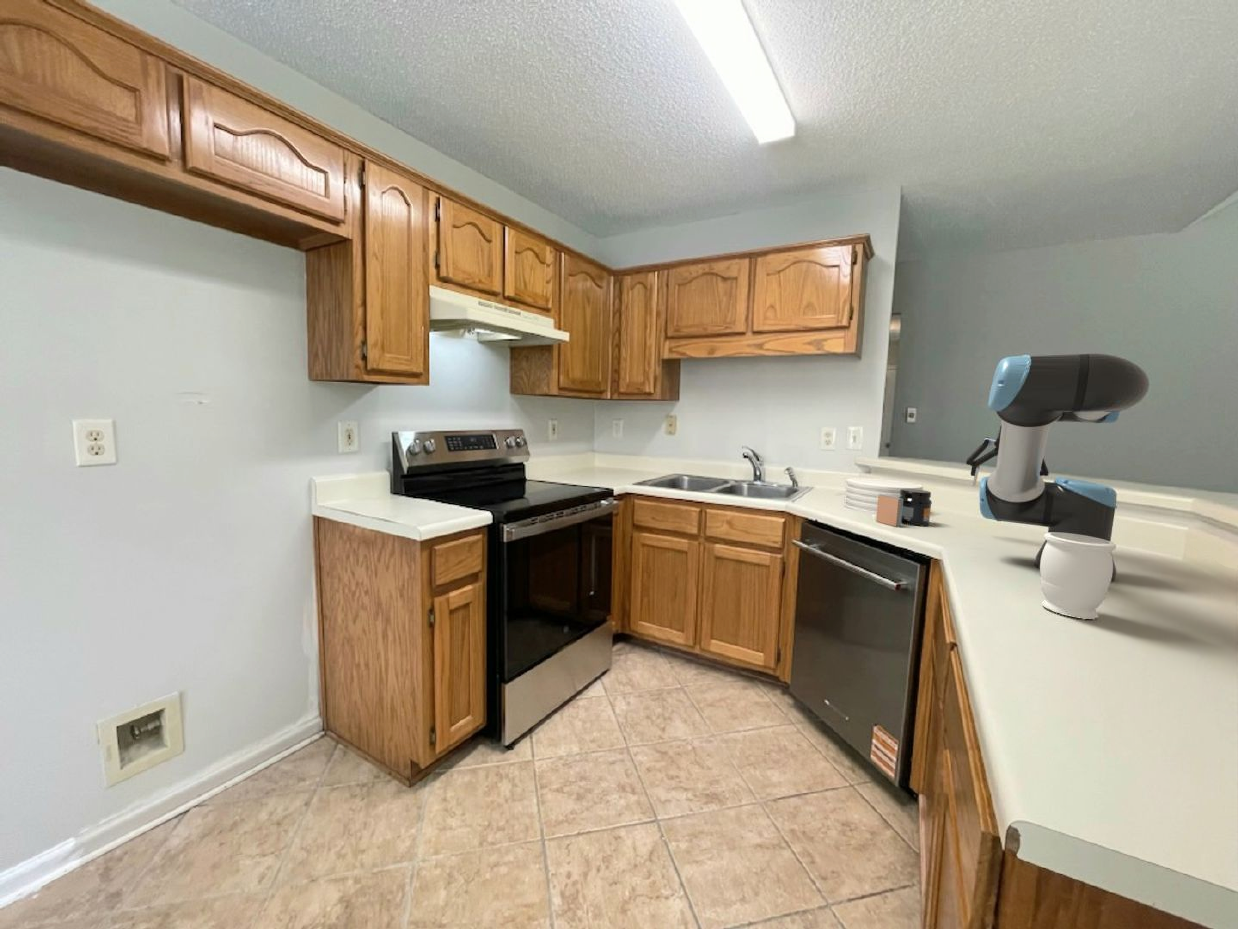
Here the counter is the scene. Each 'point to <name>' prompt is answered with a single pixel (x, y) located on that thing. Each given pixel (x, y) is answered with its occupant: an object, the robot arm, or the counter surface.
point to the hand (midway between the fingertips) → (1000, 489)
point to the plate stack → (872, 492)
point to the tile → (889, 510)
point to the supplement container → (915, 507)
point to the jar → (1075, 573)
